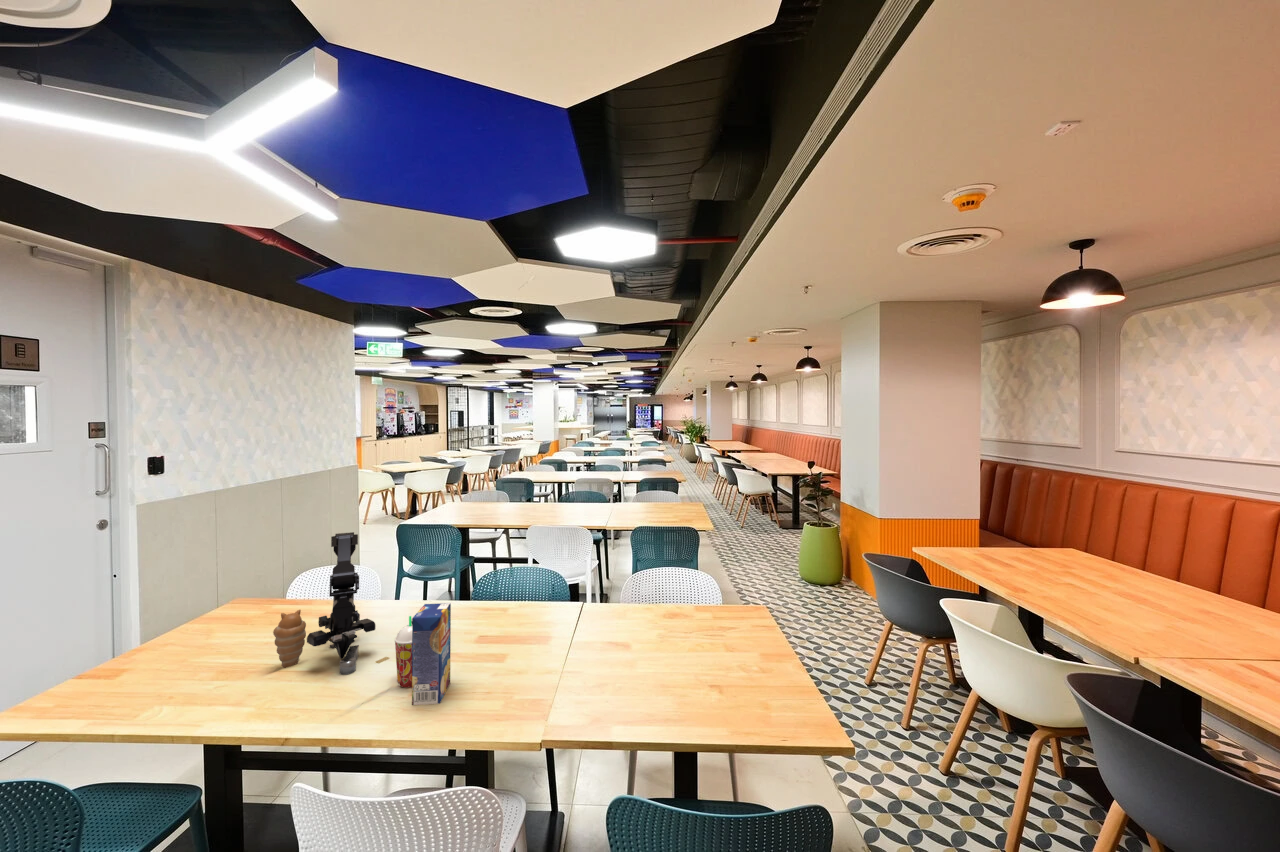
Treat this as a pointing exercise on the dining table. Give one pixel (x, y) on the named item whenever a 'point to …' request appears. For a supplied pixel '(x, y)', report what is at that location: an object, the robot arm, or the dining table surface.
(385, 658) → the brass stop
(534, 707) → the dining table surface
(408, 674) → the smoothie
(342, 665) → the swing bar
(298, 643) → the cat ice cream
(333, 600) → the robot arm
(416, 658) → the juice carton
